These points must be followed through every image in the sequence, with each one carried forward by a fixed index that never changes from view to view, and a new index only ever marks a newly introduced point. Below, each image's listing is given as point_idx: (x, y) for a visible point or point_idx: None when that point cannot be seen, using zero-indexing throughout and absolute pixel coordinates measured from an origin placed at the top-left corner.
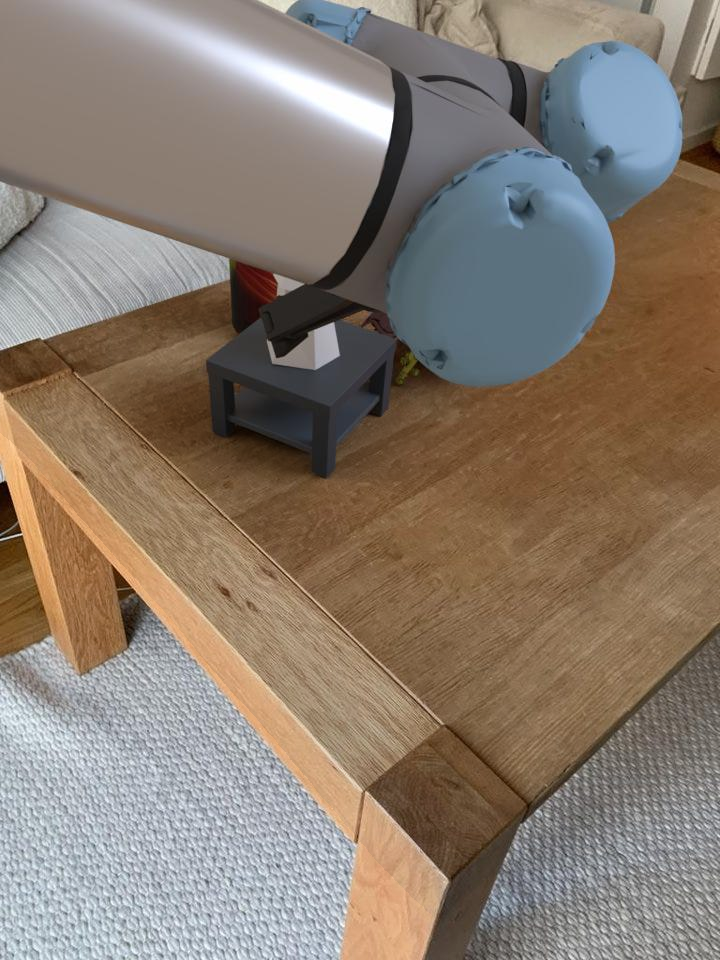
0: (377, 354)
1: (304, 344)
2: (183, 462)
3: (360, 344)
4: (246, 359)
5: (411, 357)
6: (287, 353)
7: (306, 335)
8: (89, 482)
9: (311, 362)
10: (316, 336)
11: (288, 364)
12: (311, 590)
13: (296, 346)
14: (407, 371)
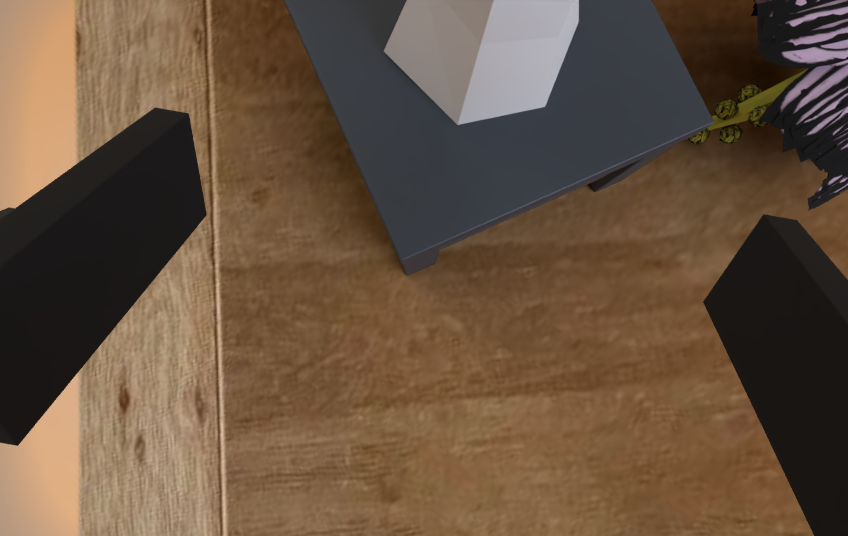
0: (628, 151)
1: (450, 64)
2: (230, 106)
3: (618, 94)
4: (344, 2)
5: (747, 107)
6: (180, 242)
7: (5, 439)
8: (80, 68)
9: (454, 107)
10: (481, 67)
11: (412, 75)
12: (232, 474)
13: (131, 306)
14: (716, 127)
